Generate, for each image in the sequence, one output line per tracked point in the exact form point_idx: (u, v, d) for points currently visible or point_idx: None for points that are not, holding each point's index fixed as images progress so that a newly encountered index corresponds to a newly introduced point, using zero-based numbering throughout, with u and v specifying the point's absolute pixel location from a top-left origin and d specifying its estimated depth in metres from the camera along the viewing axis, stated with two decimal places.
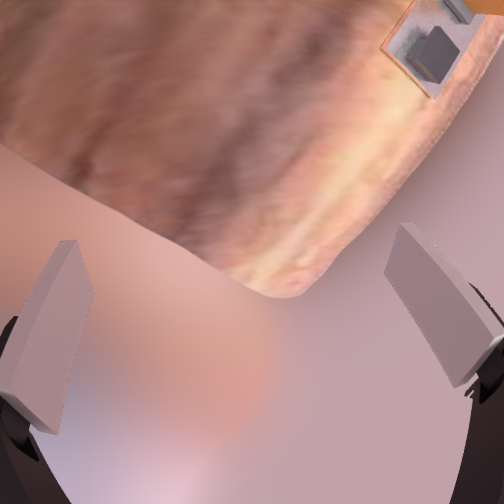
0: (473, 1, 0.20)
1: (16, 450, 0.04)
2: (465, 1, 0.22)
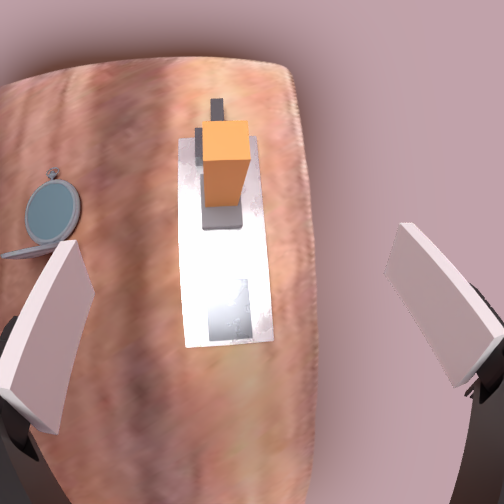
0: (218, 201, 0.35)
1: (16, 450, 0.04)
2: (219, 204, 0.37)
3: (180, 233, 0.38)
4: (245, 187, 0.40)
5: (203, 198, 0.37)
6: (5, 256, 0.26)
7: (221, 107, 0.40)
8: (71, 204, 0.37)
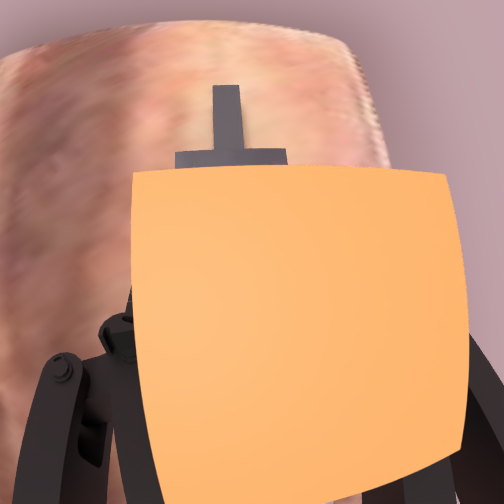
0: None
1: None
2: None
3: None
4: None
5: None
6: None
7: (236, 103, 0.18)
8: None
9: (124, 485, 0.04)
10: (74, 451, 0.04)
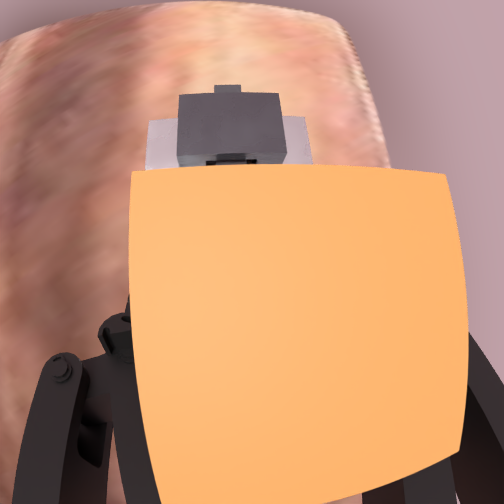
0: None
1: None
2: None
3: None
4: None
5: None
6: None
7: None
8: None
9: (123, 485, 0.04)
10: (74, 451, 0.04)
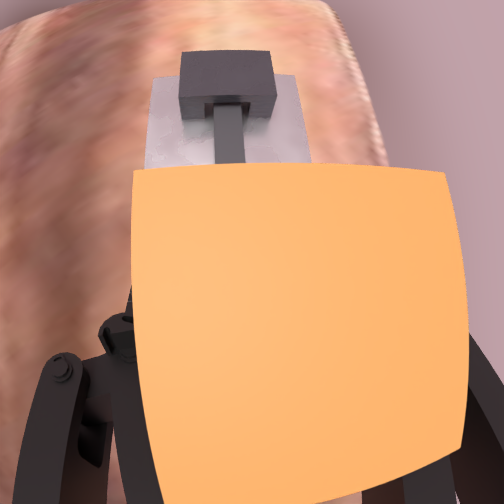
0: None
1: None
2: None
3: None
4: (280, 160, 0.19)
5: None
6: None
7: (236, 104, 0.18)
8: None
9: (124, 485, 0.04)
10: (74, 451, 0.04)
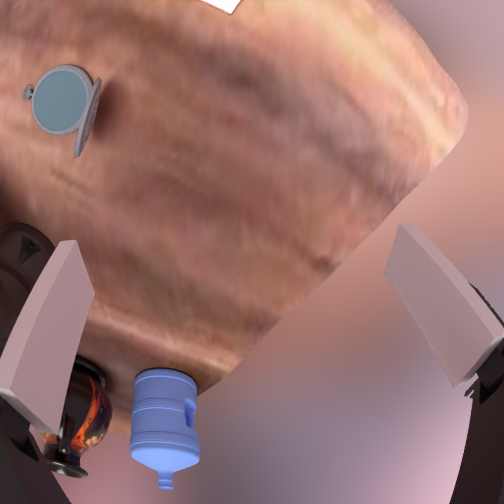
0: None
1: (16, 450, 0.04)
2: None
3: None
4: None
5: None
6: (78, 144, 0.26)
7: None
8: (66, 73, 0.28)
9: None
10: None
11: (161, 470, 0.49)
